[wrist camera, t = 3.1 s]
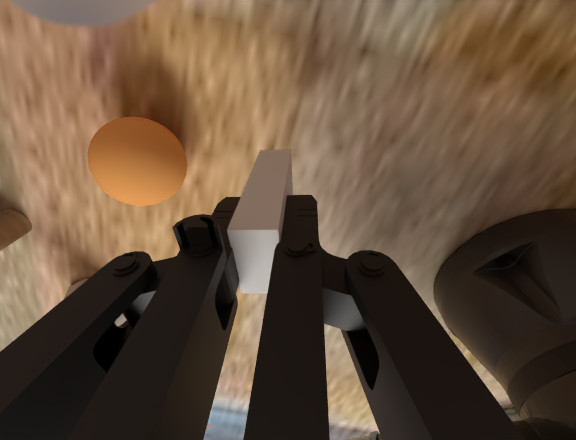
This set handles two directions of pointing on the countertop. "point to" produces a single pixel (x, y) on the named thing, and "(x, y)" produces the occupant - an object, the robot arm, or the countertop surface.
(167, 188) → the ball
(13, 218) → the post
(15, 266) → the countertop surface
